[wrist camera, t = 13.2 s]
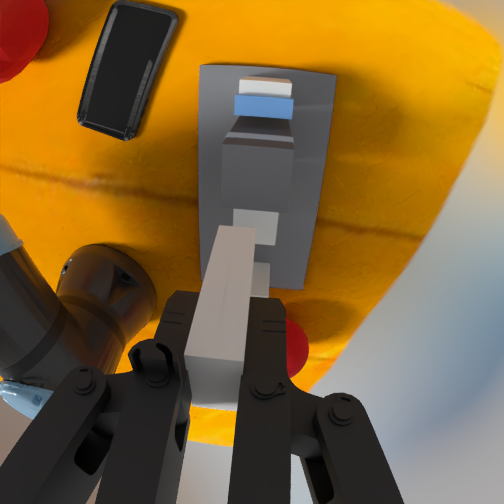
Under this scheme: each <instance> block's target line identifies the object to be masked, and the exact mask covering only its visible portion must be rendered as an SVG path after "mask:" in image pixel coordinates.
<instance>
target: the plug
mask: <svg viewBox="0 0 504 504" xmlns="http://www.w3.org/2000/svg"><path fill="white" fill-rule="evenodd" d="M293 158H294V140H293V137H292V135H291V130H290V125H289V120H288V119H281V118H270V117H257V116H242V115H240V116H239V117H238V119H237V121H236V122H235V124H234V125H233V127H232V129H231V130H230V132H228V133H227V135H226V137H225V140H224V142H223V143H222V168H221V208H231V209H244V210H256V211H267V212H278V213H287V208H288V200H289V192H290V183H291V175H292V166H293Z"/></svg>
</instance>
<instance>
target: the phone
mask: <svg viewBox="0 0 504 504" xmlns="http://www.w3.org/2000/svg"><path fill="white" fill-rule="evenodd" d="M178 21H179V20H178V16H177V14H176V13H175V12H173V11H170V10H166V9H162V8H158V7H154V6H150V5H146V4H141V3H136V2H132V1H126V0H118V1H116V2H115V3H114V4H113V5H112V6H111V8H110V10H109V13H108V15H107V18H106V20H105V23H104V26H103V28H102V31H101V34H100V37H99V40H98V42H97V45H96V48H95V51H94V55H93V58H92V61H91V64H90V67H89V71H88V74H87V78H86V81H85V85H84V88H83V92H82V96H81V100H80V104H79V108H78V113H77V120H78V122H79V124H80V125H82V126H84V127H87V128H90V129H92V130H95V131H98V132H101V133H104V134H106V135H109V136H112V137H115V138H117V139H120V140H123V141H128V140H130V139H132V138H133V137H134V136H135V135H136V133H137V131H138V128H139V125H140V122H141V118H142V116H143V113H144V110H145V107H146V105H147V102H148V97H149V94H150V92H151V89H152V86H153V83H154V81H155V78H156V75H157V73H158V70H159V67H160V65H161V62H162V60H163V57H164V55H165V52H166V50H167V48H168V45H169V43H170V40H171V38H172V36H173V33H174V31H175V29H176V27H177V24H178Z"/></svg>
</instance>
